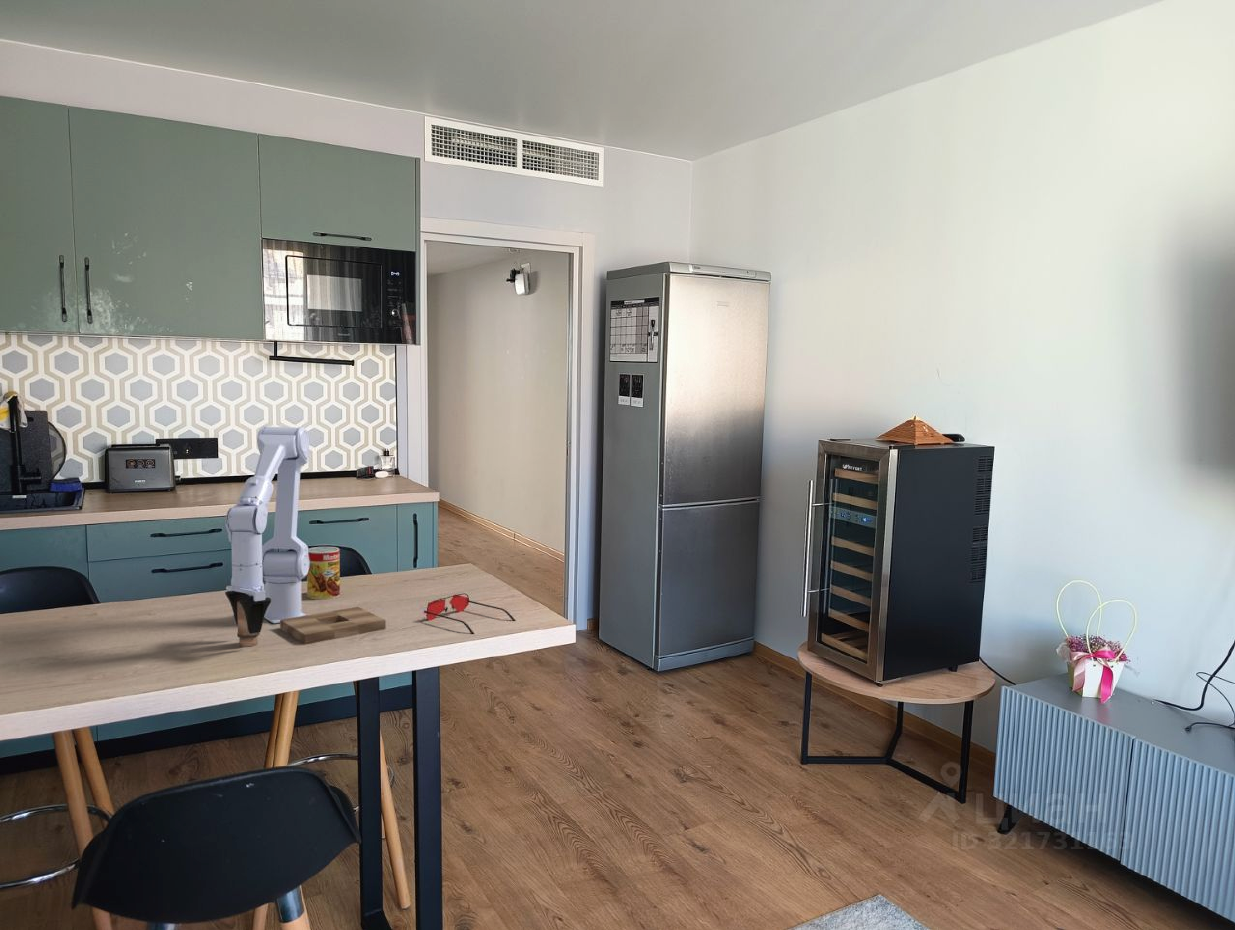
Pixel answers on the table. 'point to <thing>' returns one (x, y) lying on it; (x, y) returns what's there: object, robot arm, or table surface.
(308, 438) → the robot arm
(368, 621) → the board
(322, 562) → the canned food
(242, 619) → the peg
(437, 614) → the glasses
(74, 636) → the table surface
